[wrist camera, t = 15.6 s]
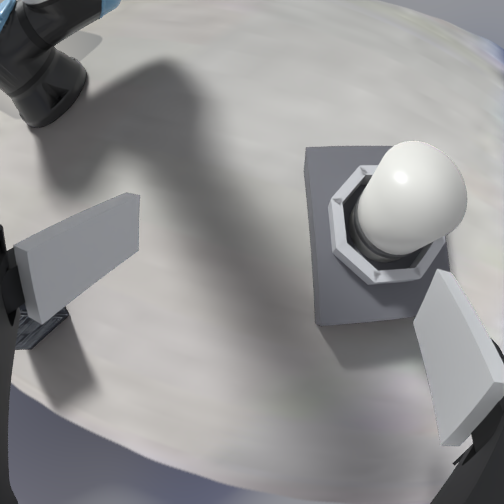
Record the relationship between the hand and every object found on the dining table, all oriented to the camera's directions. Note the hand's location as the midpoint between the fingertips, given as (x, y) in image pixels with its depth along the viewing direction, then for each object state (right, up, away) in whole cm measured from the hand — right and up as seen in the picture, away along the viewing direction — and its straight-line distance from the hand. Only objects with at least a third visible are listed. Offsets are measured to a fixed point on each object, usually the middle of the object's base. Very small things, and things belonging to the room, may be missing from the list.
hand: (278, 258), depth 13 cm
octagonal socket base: (+12, +2, +23) cm, 26 cm away
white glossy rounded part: (+12, +3, +17) cm, 21 cm away
